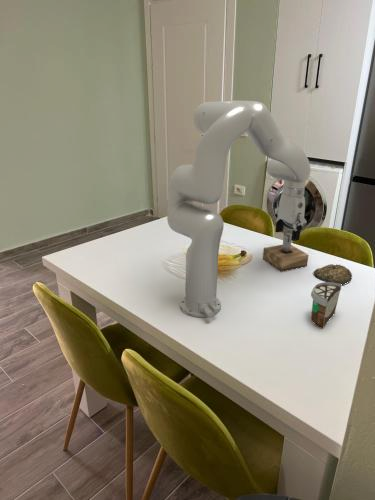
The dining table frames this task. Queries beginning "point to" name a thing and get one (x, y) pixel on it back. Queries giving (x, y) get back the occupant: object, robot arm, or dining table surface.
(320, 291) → the food container
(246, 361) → the dining table surface
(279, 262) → the bore block
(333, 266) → the bread roll
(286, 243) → the pin
